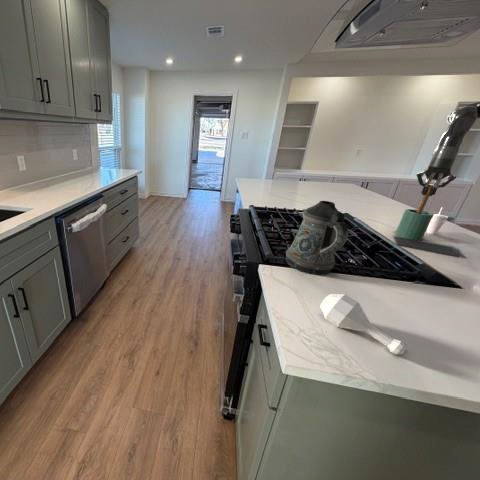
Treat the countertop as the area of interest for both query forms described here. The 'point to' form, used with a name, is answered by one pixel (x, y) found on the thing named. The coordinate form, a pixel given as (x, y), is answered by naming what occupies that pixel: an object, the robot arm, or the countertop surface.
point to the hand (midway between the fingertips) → (426, 195)
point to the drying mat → (426, 246)
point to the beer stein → (318, 239)
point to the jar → (413, 224)
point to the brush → (424, 199)
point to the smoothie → (436, 222)
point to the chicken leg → (355, 320)
